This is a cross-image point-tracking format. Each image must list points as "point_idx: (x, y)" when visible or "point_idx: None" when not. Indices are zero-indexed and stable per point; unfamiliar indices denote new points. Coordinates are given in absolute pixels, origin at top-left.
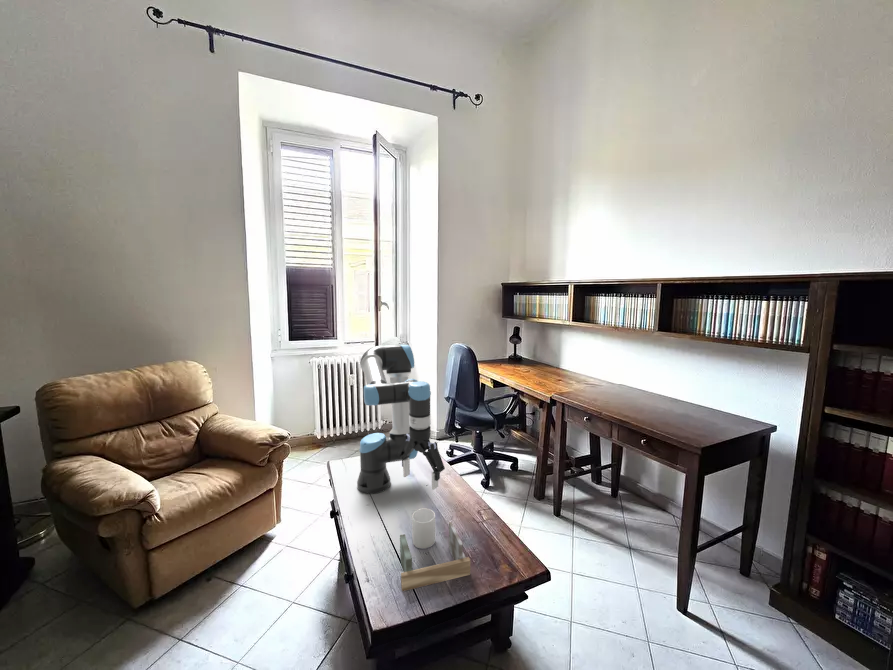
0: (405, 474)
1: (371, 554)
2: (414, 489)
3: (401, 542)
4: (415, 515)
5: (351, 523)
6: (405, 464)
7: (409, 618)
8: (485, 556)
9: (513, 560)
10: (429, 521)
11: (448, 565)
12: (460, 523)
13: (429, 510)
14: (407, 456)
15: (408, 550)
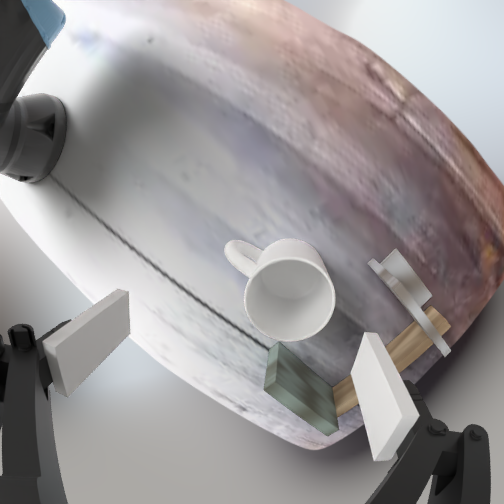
0: (122, 337)
1: (198, 359)
2: (127, 77)
3: (283, 403)
4: (249, 290)
5: (89, 292)
6: (84, 373)
7: (356, 428)
8: (452, 243)
9: (498, 226)
10: (327, 321)
11: (408, 364)
12: (349, 145)
13: (292, 259)
14: (38, 365)
15: (318, 418)
